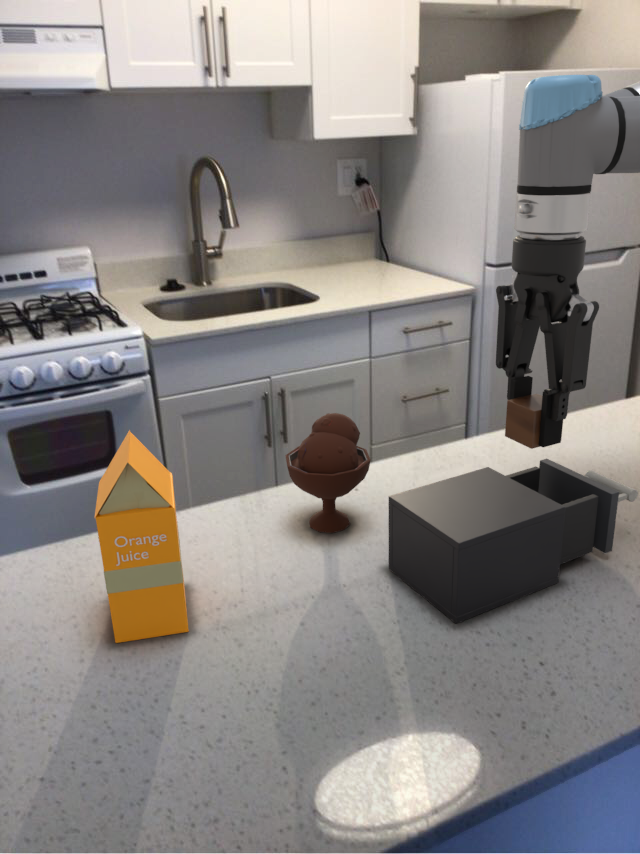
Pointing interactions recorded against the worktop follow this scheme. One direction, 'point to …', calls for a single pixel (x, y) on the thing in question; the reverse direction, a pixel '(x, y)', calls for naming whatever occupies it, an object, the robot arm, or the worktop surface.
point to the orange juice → (140, 545)
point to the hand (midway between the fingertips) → (533, 436)
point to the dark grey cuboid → (475, 541)
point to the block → (524, 420)
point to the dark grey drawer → (579, 504)
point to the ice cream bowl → (329, 467)
